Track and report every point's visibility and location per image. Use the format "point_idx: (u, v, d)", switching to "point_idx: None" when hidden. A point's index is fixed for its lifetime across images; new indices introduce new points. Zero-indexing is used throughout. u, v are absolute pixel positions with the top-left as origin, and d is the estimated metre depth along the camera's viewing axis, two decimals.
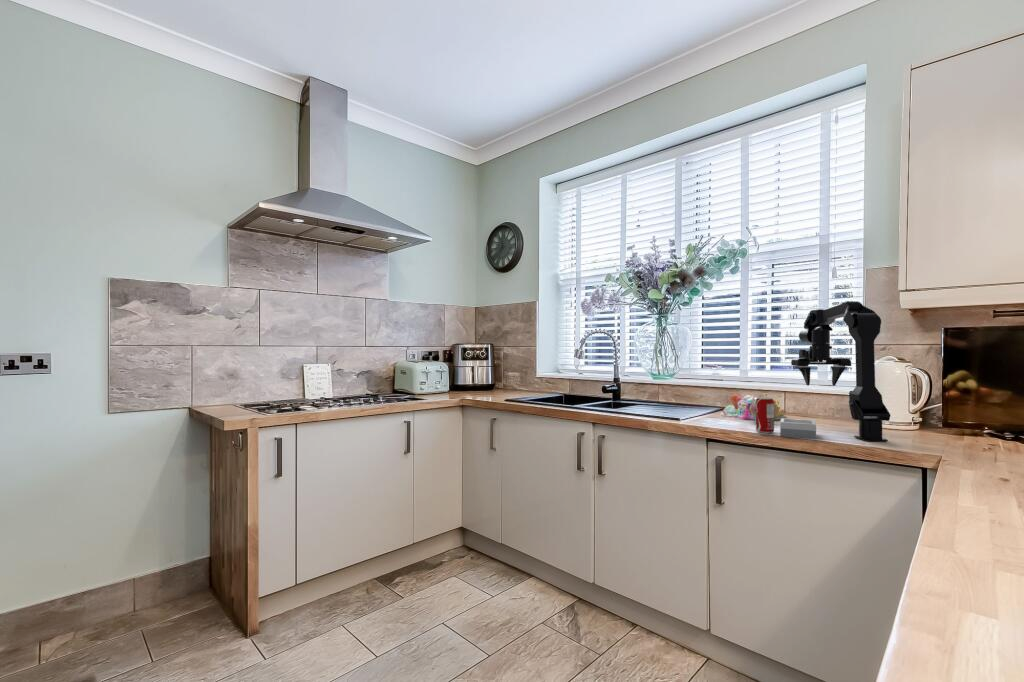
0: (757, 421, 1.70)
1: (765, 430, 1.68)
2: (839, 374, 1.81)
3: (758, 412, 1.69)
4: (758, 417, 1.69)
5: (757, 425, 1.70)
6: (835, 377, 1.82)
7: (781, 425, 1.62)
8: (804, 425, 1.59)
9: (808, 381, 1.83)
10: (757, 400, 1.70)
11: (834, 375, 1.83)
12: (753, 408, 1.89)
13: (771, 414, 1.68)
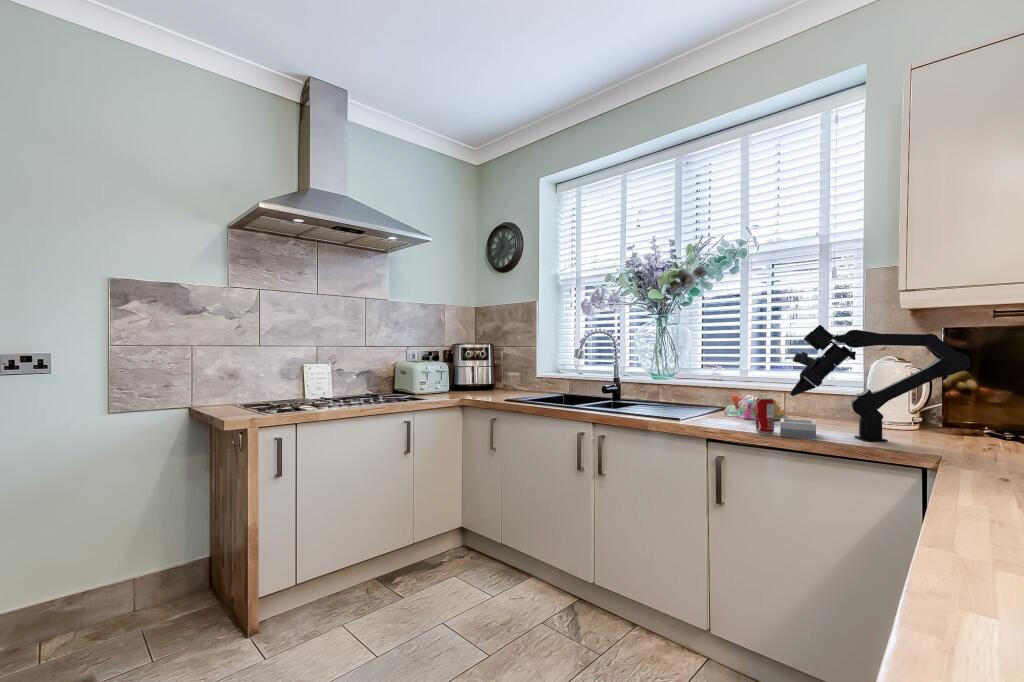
0: (757, 421, 1.70)
1: (765, 430, 1.68)
2: None
3: (758, 412, 1.69)
4: (758, 417, 1.69)
5: (757, 425, 1.70)
6: None
7: (781, 425, 1.62)
8: (804, 425, 1.59)
9: None
10: (757, 400, 1.70)
11: None
12: (753, 408, 1.89)
13: (771, 414, 1.68)
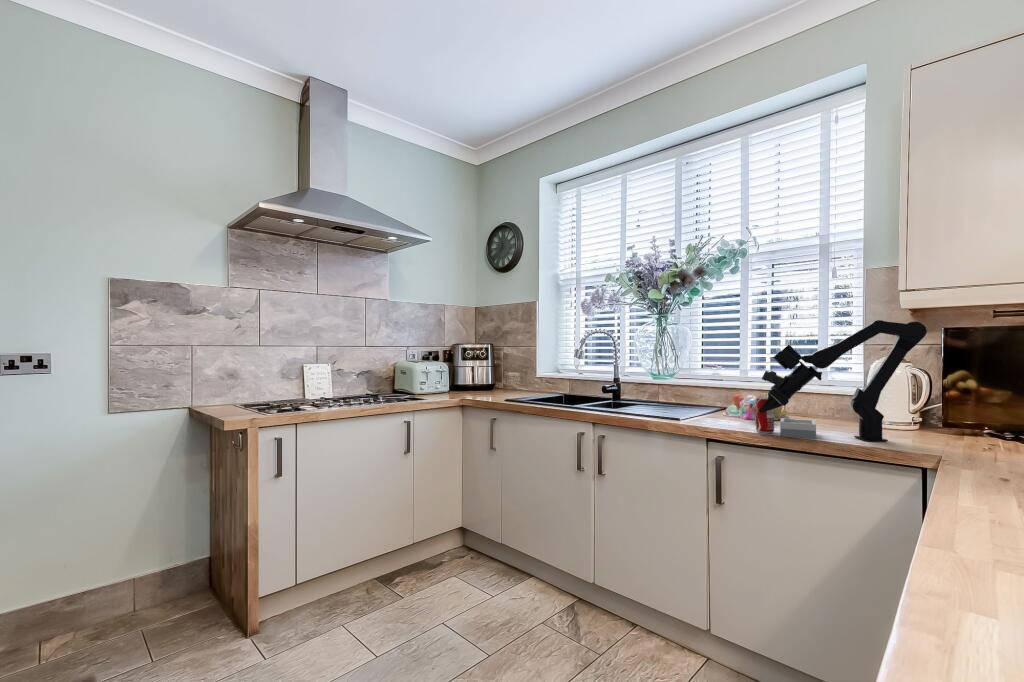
0: (757, 421, 1.70)
1: (765, 430, 1.68)
2: None
3: (758, 412, 1.69)
4: (758, 417, 1.69)
5: (757, 425, 1.70)
6: None
7: (781, 425, 1.62)
8: (804, 425, 1.59)
9: (765, 411, 1.67)
10: (757, 400, 1.70)
11: None
12: (753, 408, 1.89)
13: (771, 414, 1.68)
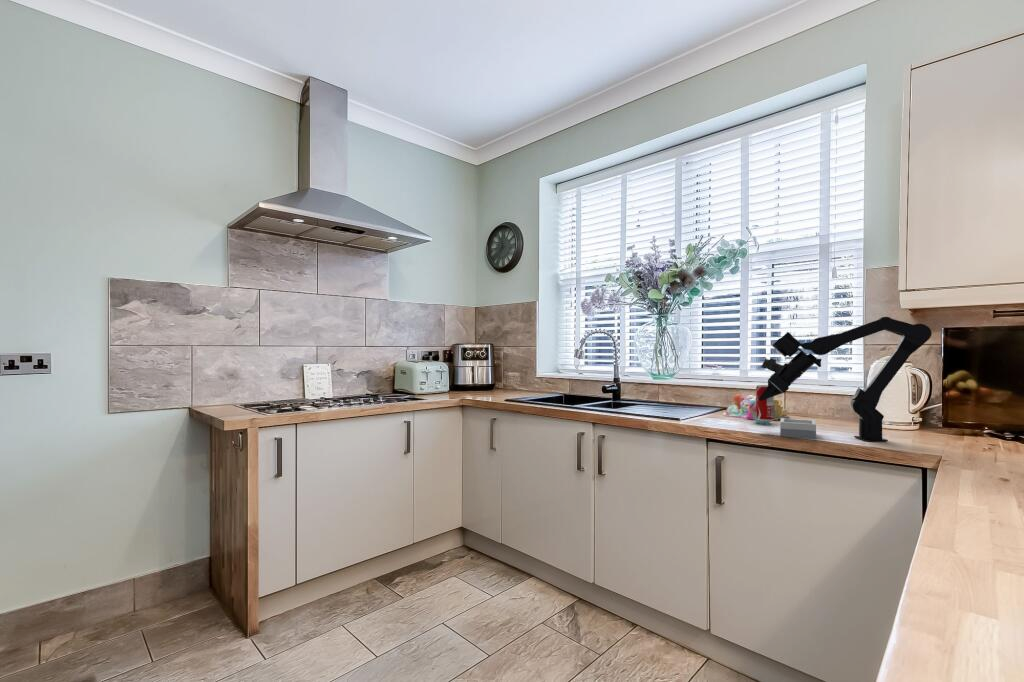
0: (757, 409, 1.70)
1: (765, 418, 1.68)
2: None
3: (758, 400, 1.69)
4: (758, 405, 1.69)
5: (757, 413, 1.70)
6: None
7: (781, 425, 1.62)
8: (804, 425, 1.59)
9: None
10: (757, 388, 1.70)
11: None
12: (753, 408, 1.89)
13: (771, 402, 1.68)
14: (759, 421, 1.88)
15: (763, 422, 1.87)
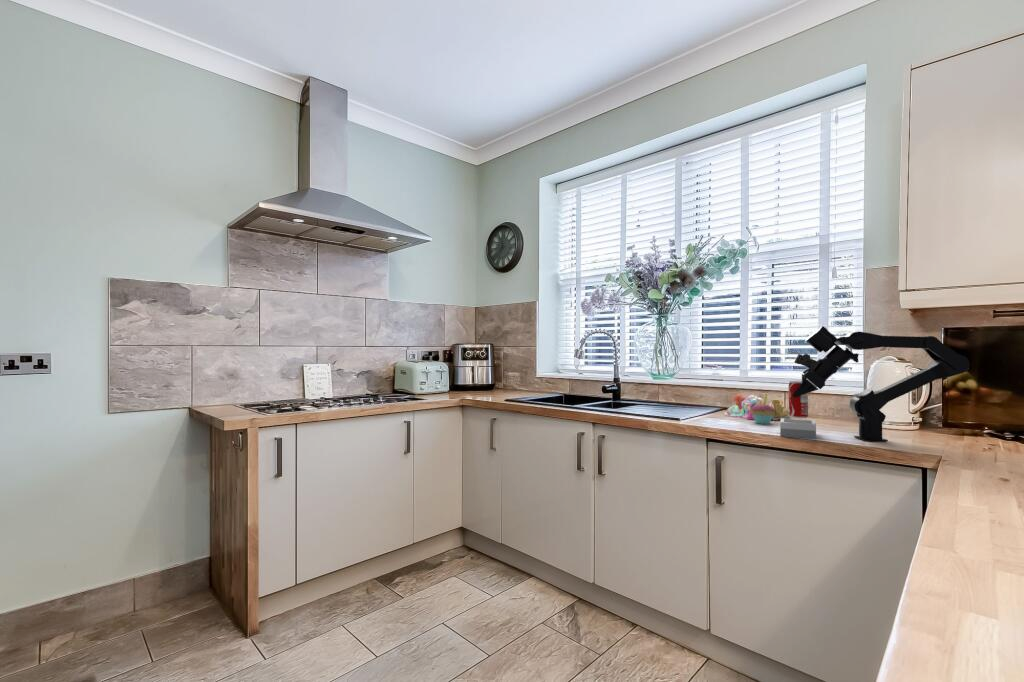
0: (790, 406, 1.64)
1: (799, 415, 1.62)
2: None
3: (791, 397, 1.63)
4: (791, 402, 1.63)
5: (790, 410, 1.64)
6: None
7: (781, 425, 1.62)
8: (804, 425, 1.59)
9: (799, 395, 1.61)
10: (790, 384, 1.64)
11: None
12: (753, 408, 1.89)
13: (805, 398, 1.62)
14: (759, 421, 1.88)
15: (763, 422, 1.87)
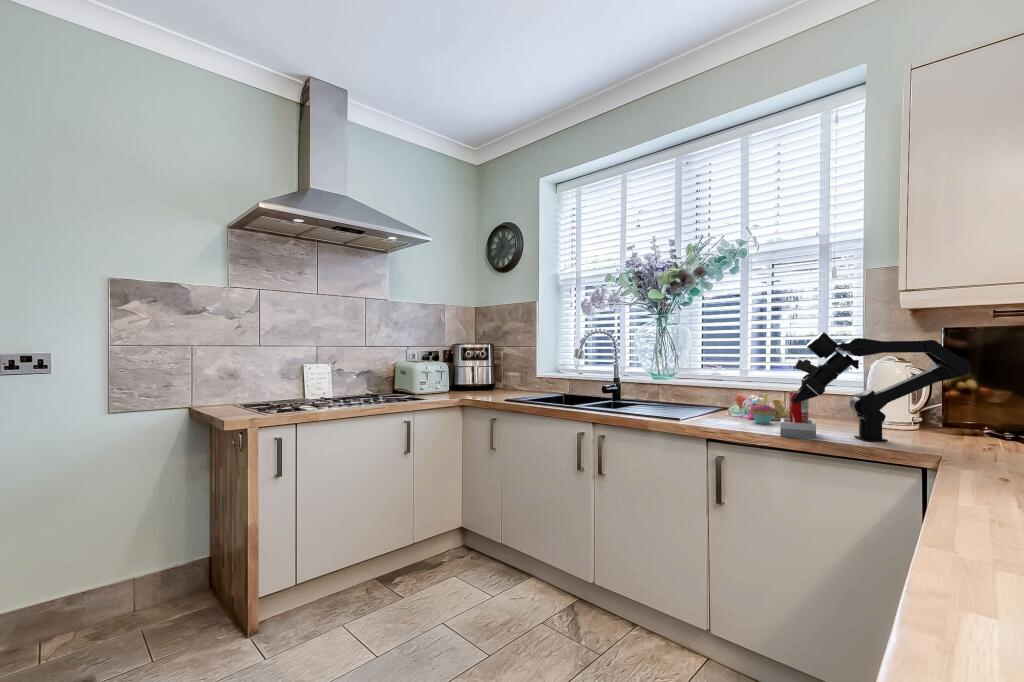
0: (791, 416, 1.64)
1: None
2: None
3: (792, 406, 1.63)
4: (792, 411, 1.63)
5: (791, 420, 1.64)
6: None
7: (781, 425, 1.62)
8: (804, 425, 1.59)
9: (799, 401, 1.60)
10: (791, 394, 1.64)
11: None
12: (753, 408, 1.89)
13: (806, 408, 1.62)
14: (759, 421, 1.88)
15: (763, 422, 1.87)
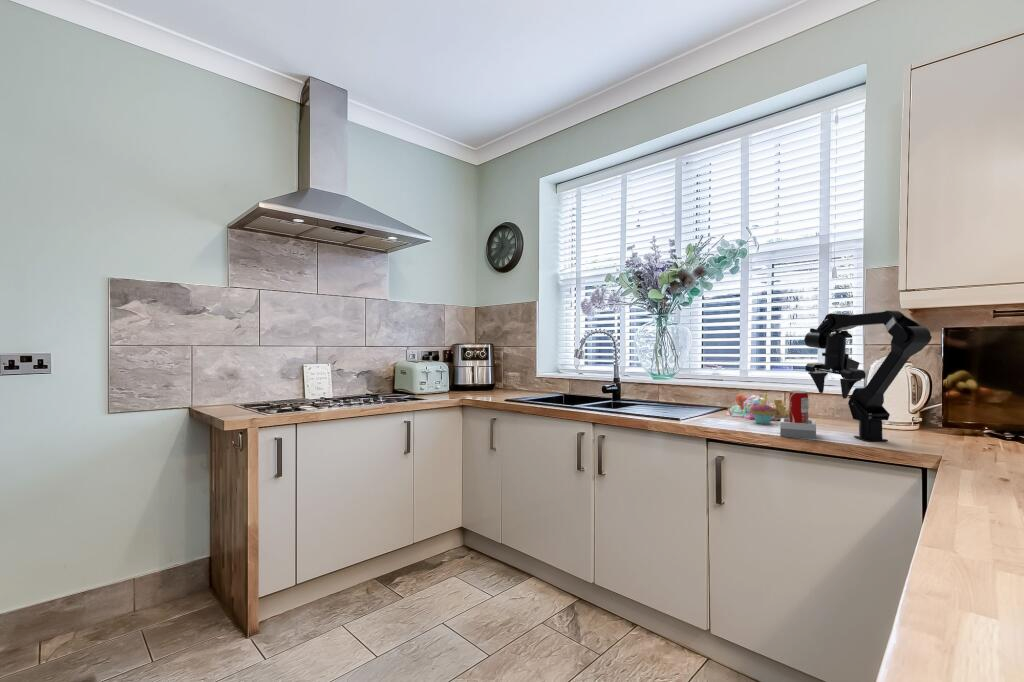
0: (791, 416, 1.64)
1: None
2: (842, 386, 1.63)
3: (792, 406, 1.63)
4: (792, 411, 1.63)
5: (791, 420, 1.64)
6: None
7: (781, 425, 1.62)
8: (804, 425, 1.59)
9: (818, 388, 1.74)
10: (791, 394, 1.64)
11: None
12: (753, 408, 1.89)
13: (806, 408, 1.62)
14: (759, 421, 1.88)
15: (763, 422, 1.87)
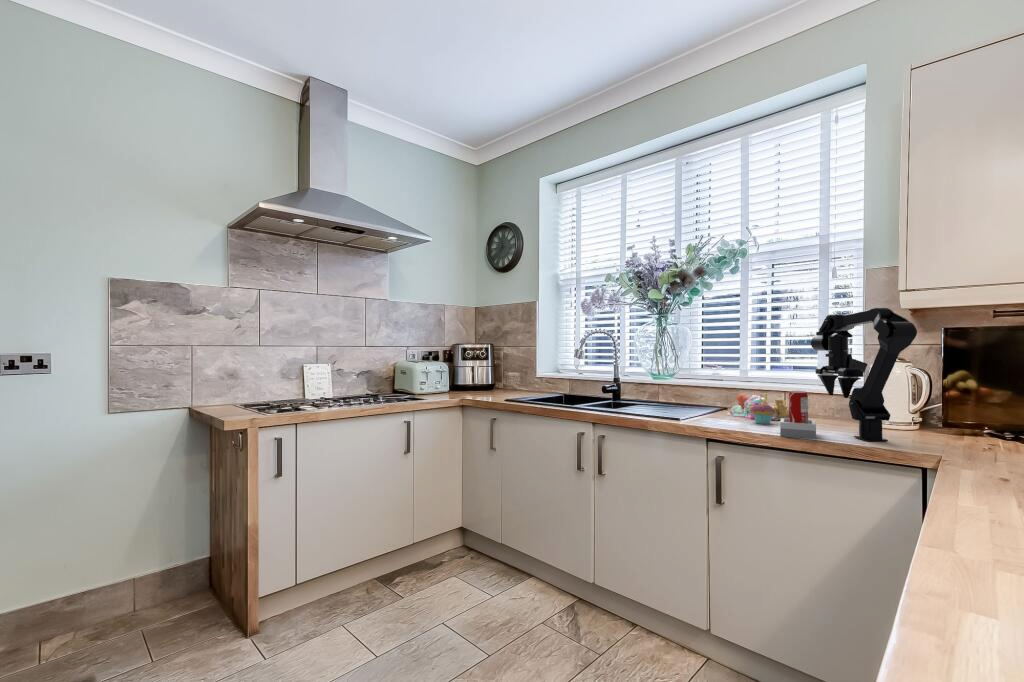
0: (790, 416, 1.64)
1: None
2: (841, 385, 1.65)
3: (791, 406, 1.63)
4: (791, 411, 1.63)
5: (790, 420, 1.64)
6: None
7: (781, 425, 1.62)
8: (804, 425, 1.59)
9: (827, 390, 1.75)
10: (790, 394, 1.64)
11: None
12: (753, 408, 1.89)
13: (805, 408, 1.62)
14: (759, 421, 1.88)
15: (763, 422, 1.87)
